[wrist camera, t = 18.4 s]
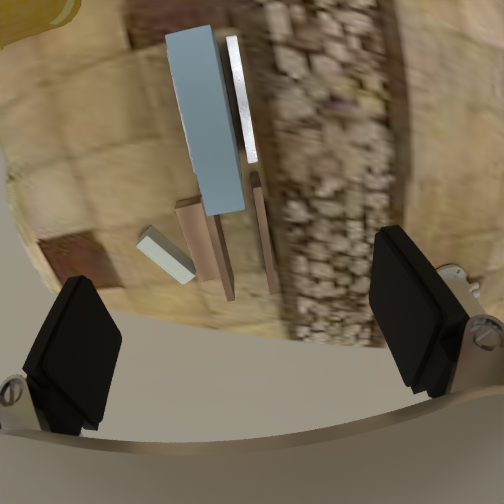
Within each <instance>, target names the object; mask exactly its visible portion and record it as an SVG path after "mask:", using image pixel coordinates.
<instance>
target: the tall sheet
mask: <svg viewBox="0 0 504 504" xmlns="http://www.w3.org/2000/svg"><path fill="white" fill-rule="evenodd" d="M165 38H166V43H167V48H168V53H169V58H170V62H171V67H172V72H173V76H174V81H175V86H176V90H177V95H178V99H179V103H180V108H181V112H182V117H183V121H184V125H185V130H186V134H187V138H188V142H189V147H190V151H191V155H192V159H193V163H194V167H195V171H196V175H197V179H198V183H199V187H200V191H201V195H202V199H203V203H204V207H205V211H206V215H207V216H212V215H218V214H223V213H228V212H234V211H240V210H245V201H244V193H243V184H242V175H241V167H240V158H239V151H238V145H237V140H236V135H235V129H234V124H233V119H232V113H231V108H230V103H229V97H228V92H227V87H226V82H225V76H224V71H223V66H222V61H221V55H220V50H219V45H218V42H217V39H216V37H215V35H214V33H213V31H212V28H211V26H210V25H206V26H202V27H197V28H192V29H188V30H184V31H180V32H176V33H172V34H168V35H165Z"/></svg>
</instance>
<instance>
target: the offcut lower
mask: <svg viewBox="0 0 504 504" xmlns="http://www.w3.org/2000/svg"><path fill="white" fill-rule="evenodd" d="M175 211H176V214H177V217H178V220H179V223H180V226H181V229H182V232H183V235H184V237H185V240H186V243H187V246H188V249H189V252H190V255H191V257H192V260H193V263H194V266H195V269H196V271H197V274H198V277H199V280H200V282H202V281H208V280H213V279H218V278H221V276H220V272H219V268H218V265H217V261H216V257H215V254H214V250H213V246H212V242H211V239H210V235H209V231H208V227H207V223H206V219H205V216H204V212H203V208H202V204H201V200H200V197H196V198H192V199H187V200H183V201H179V202H177V204H176V207H175Z"/></svg>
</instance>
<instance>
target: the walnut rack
mask: <svg viewBox="0 0 504 504" xmlns="http://www.w3.org/2000/svg"><path fill="white" fill-rule="evenodd" d="M250 177H251V183H252V189H253V195H254V201H255V207H256V213H257V219H258V225H259V231H260V237H261V243H262V249H263V255H264V262H265V268H266V274H267V280H268V285H269V291H270V295H272V294H277V288H276V281H275V274H274V267H273V260H272V253H271V246H270V240H269V233H268V226H267V219H266V213H265V206H264V200H263V193H262V187H261V183H260V179H259V175H258V172H255V173H250ZM200 200H201V204H202V208H203V212H204V216H205V219H206V223H207V227H208V231H209V235H210V239H211V242H212V246H213V250H214V254H215V257H216V261H217V265H218V268H219V272H220V276H221V279H222V283H223V287H224V290H225V294H226V297H227V301H235V295H234V277H233V273H232V269H231V265H230V260H229V256H228V252H227V248H226V244H225V240H224V235H223V231H222V227H221V223H220V218H219V214H218V215H212V216H207V215H206V211H205V207H204V203H203V199H202V195H200Z"/></svg>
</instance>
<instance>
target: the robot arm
mask: <svg viewBox="0 0 504 504" xmlns="http://www.w3.org/2000/svg"><path fill="white" fill-rule="evenodd" d="M478 288H479V284H478V282H475V283H472V284H469V283H468V282H467V281H466V274H465V272H464V270H463V269H462V268H461V267H460V266H458V265H454V264H453V265H446V266H443V267H441V268H439V269H437V270H435V268H434V267H433V266H432V265H431V263H430V262H429V261H428V259H427V258H426V257H425V256H424V254H423V253H422V252H421V251H420V250H419V248H418V247H417V246H416V245H415V243H414V242H413V241H412V240H411V239H410V237H409V236H408V235H407V234H406V233H405V232H404V230H403V229H402V228H401V227H400V226H399V225H393V226H386V227H382V228H380V231H379V232H378V233H376V234H375V240H374V252H373V263H372V273H371V282H370V291H369V304H370V307H371V309H372V311H373V313H374V316H375V318H376V320H377V322H378V324H379V326H380V329H381V331H382V333H383V335H384V337H385V340H386V342H387V344H388V346H389V349H390V351H391V353H392V355H393V358H394V360H395V362H396V365H397V367H398V369H399V372H400V374H401V376H402V379H403V381H404V383H405V385H406V386H407V387H410V386H411V389H412V391H413V393H414V394H417V393H420V392H423V391H427V394H428V396H429V397H430V399H429V400H427V401H424V402H421V403H418V404H415V405H411V406H408V407H405V408H402V409H398V410H395V411H391V412H388V413H384V414H380V415H377V416H373V417H369V418H365V419H361V420H357V421H353V422H349V423H344V424H340V425H335V426H331V427H326V428H321V429H315V430H310V431H304V432H298V433H292V434H285V435H278V436H271V437H262V438H253V439H243V440H231V441H215V442H188V443H161V442H133V441H118V440H106V439H96V438H88V437H83V435H82V433H81V428H82V427H83V428H84V429H86V430H96V431H97V430H98V426H99V423H100V422H101V421H102V419H103V416H104V411H105V406H106V402H107V397H108V393H109V389H110V385H111V381H112V377H113V373H114V369H115V365H116V362H117V358H118V354H119V350H120V346H121V343H122V336H121V333H120V331H119V329H118V328H117V326H116V324H115V323H114V321H113V319H112V317H111V316H110V314H109V312H108V311H107V309H106V307H105V305H104V303H103V302H102V300H101V298H100V296H99V294H98V292H97V291H96V289H95V287H94V285H93V283H92V281H91V280H90V279H87V278H86V277H85V276H84V275H80V276H74V277H70V278H68V279H67V281H66V282H65V284H64V286H63V288H62V289H61V291H60V293H59V295H58V297H57V299H56V300H55V302H54V304H53V306H52V308H51V310H50V312H49V314H48V316H47V317H46V319H45V321H44V323H43V325H42V327H41V329H40V331H39V333H38V335H37V337H36V339H35V342H34V344H33V346H32V348H31V350H30V352H29V354H28V357H27V359H26V361H25V364H24V366H23V368H22V369H23V371H24V372H25V373H26V374H27V378H26V379H25V378H24V377H23V376H22V375H18V374H16V375H12V376H10V377H8V378H7V379H6V380H5V381H4V382H3V383H2V384H1V386H0V504H504V324H503V323H502V322H501V321H500V320H499V319H497V318H495V317H493V316H491V315H487V313H486V312H485V311H484V309H483V308H482V307H481V305H480V304H479V302H478V301H477V300H476V298H478V297H479V296H480V291H479V290H478Z"/></svg>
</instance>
